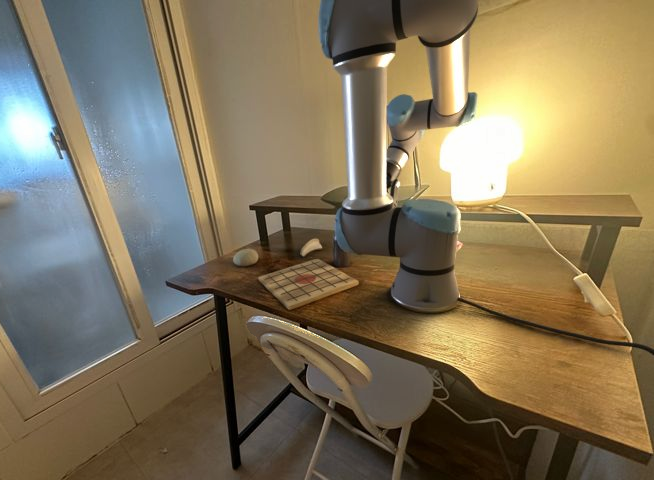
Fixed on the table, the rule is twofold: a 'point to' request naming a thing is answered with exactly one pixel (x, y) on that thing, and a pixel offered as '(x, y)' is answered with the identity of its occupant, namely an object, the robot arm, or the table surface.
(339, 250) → the dark grey rounded cylinder
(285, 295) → the game board
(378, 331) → the table surface
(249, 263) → the sea urchin shell
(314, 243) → the ceramic fragment
